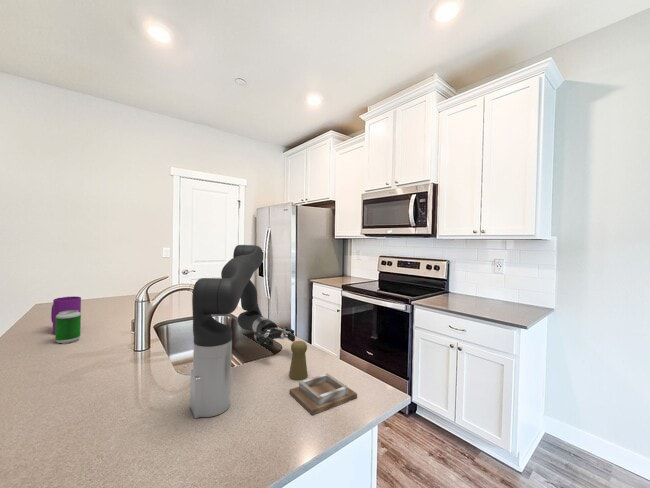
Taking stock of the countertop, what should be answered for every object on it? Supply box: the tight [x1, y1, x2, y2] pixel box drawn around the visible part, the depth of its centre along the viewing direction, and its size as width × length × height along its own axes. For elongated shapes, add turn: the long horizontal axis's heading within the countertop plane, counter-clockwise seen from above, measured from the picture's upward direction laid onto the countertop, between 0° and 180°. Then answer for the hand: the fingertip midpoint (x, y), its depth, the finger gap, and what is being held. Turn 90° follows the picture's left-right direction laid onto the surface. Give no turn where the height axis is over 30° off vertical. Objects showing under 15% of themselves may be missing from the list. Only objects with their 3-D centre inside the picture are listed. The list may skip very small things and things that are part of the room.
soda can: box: [55, 310, 82, 344], centre depth 116 cm, size 8×8×12 cm
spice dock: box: [288, 373, 358, 416], centre depth 81 cm, size 15×12×3 cm
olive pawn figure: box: [288, 340, 309, 382], centre depth 92 cm, size 6×6×11 cm
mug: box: [50, 296, 82, 335], centre depth 128 cm, size 9×16×15 cm, turn 68°
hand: (283, 341), depth 101 cm, fingers open, 8 cm apart
